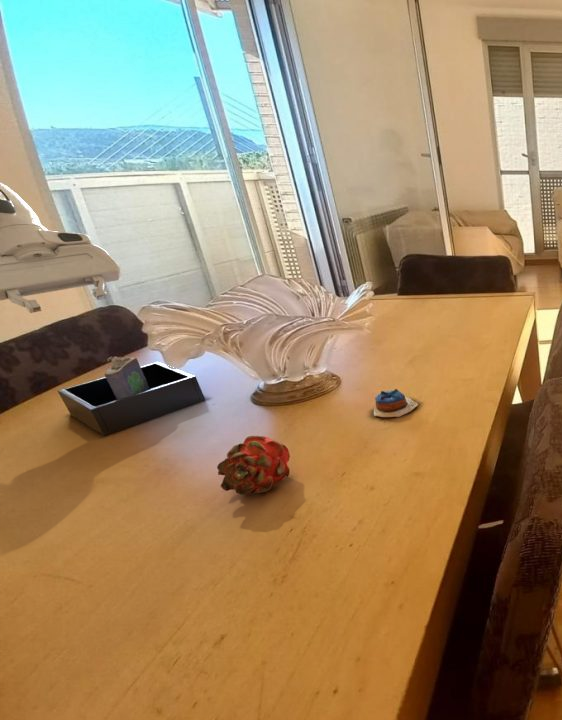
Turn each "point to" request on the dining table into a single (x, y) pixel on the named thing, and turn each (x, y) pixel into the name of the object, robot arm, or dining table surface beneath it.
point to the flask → (126, 377)
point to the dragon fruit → (254, 465)
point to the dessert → (393, 404)
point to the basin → (131, 399)
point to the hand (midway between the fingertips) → (70, 303)
